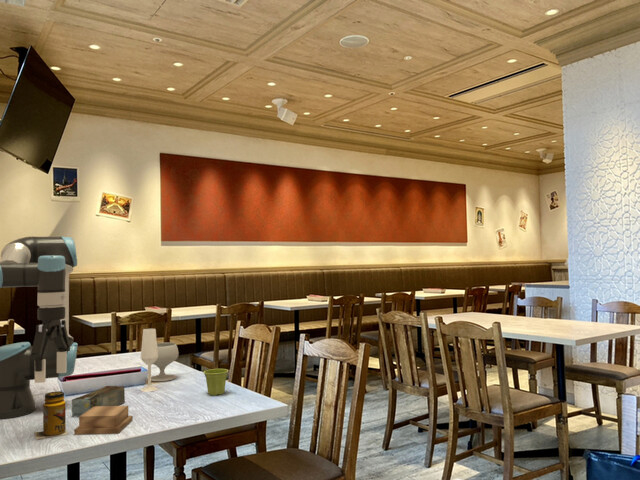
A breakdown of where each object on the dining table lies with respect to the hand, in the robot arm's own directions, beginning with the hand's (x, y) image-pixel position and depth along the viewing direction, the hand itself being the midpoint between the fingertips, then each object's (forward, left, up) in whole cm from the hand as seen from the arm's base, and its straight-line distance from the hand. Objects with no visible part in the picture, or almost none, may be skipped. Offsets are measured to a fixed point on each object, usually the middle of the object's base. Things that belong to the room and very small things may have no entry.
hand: (51, 377), depth 159 cm
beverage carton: (+4, +26, -17) cm, 32 cm away
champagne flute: (+14, +53, -17) cm, 58 cm away
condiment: (0, 0, -17) cm, 17 cm away
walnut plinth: (+14, +5, -17) cm, 22 cm away
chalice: (+14, +72, -17) cm, 75 cm away
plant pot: (+42, +44, -17) cm, 63 cm away
